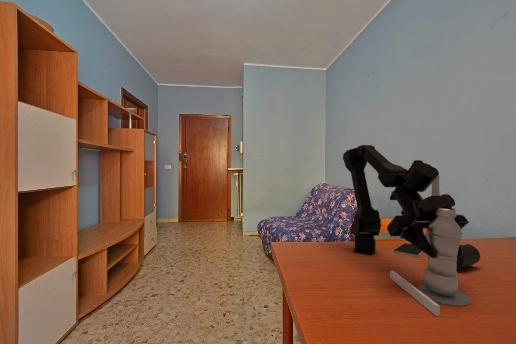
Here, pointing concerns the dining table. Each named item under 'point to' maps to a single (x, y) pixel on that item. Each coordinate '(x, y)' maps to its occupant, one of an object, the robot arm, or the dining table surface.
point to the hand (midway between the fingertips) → (447, 256)
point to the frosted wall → (416, 293)
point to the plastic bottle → (443, 253)
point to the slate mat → (446, 297)
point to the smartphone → (409, 250)
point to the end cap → (467, 256)
